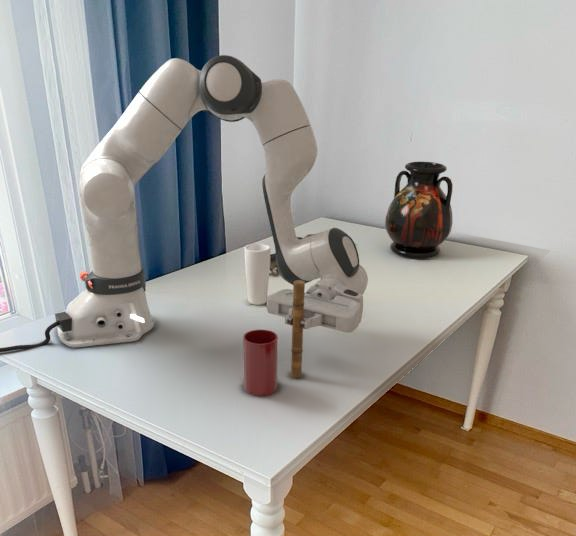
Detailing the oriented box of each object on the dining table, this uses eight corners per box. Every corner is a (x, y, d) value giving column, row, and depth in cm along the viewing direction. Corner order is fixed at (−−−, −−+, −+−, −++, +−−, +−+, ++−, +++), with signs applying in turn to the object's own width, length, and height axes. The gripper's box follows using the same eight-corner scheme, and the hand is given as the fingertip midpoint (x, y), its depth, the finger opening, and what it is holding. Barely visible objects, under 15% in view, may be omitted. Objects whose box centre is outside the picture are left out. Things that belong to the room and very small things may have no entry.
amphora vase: (370, 254, 199) (379, 165, 184) (399, 238, 214) (409, 156, 200) (431, 267, 188) (445, 175, 174) (457, 250, 204) (471, 164, 189)
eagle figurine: (270, 276, 175) (295, 266, 178) (260, 254, 174) (285, 243, 178) (261, 282, 182) (285, 272, 185) (251, 261, 181) (275, 251, 185)
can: (252, 399, 119) (252, 347, 113) (238, 383, 124) (237, 333, 118) (282, 391, 122) (283, 340, 116) (267, 376, 127) (268, 327, 121)
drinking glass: (266, 307, 158) (267, 252, 151) (242, 305, 159) (241, 250, 152) (272, 298, 164) (273, 244, 156) (248, 295, 165) (247, 242, 158)
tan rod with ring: (294, 379, 126) (296, 284, 115) (288, 374, 128) (290, 281, 117) (303, 377, 127) (307, 283, 116) (298, 372, 129) (301, 279, 118)
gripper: (284, 278, 133) (251, 298, 123) (370, 296, 125) (342, 320, 115) (284, 304, 137) (251, 326, 126) (367, 324, 128) (340, 349, 118)
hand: (295, 323), depth 120 cm, fingers closed on tan rod with ring, 2 cm apart
